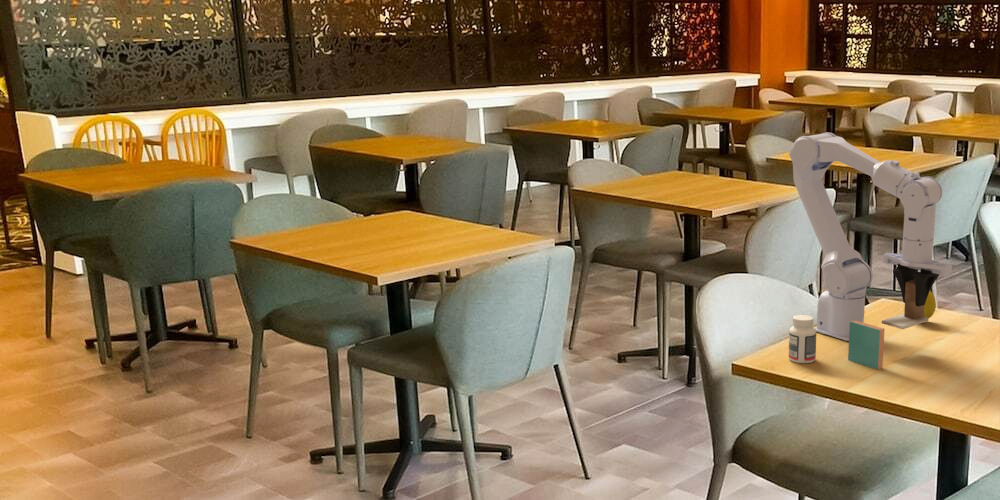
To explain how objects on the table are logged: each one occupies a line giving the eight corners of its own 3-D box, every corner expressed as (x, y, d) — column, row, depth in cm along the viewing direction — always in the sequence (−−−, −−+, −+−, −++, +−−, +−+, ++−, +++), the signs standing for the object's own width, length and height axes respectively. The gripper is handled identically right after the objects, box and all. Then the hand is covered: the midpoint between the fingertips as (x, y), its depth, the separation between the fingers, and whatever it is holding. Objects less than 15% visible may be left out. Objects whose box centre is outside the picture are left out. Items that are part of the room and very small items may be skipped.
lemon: (936, 326, 227) (939, 291, 225) (910, 325, 228) (912, 290, 226) (931, 318, 232) (934, 284, 230) (905, 318, 233) (907, 284, 232)
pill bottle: (816, 356, 210) (817, 314, 208) (814, 364, 205) (816, 322, 203) (789, 354, 212) (790, 312, 210) (787, 362, 207) (788, 320, 205)
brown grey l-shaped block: (881, 323, 209) (882, 285, 207) (908, 314, 213) (909, 277, 212) (902, 329, 205) (904, 290, 203) (929, 320, 209) (931, 282, 207)
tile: (848, 360, 207) (849, 321, 206) (853, 358, 208) (855, 320, 206) (876, 369, 202) (879, 330, 200) (882, 367, 202) (884, 328, 201)
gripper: (874, 235, 211) (871, 299, 214) (937, 247, 199) (932, 315, 202) (897, 230, 214) (893, 293, 217) (960, 242, 202) (955, 309, 205)
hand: (914, 303), depth 210 cm, fingers closed on brown grey l-shaped block, 2 cm apart
